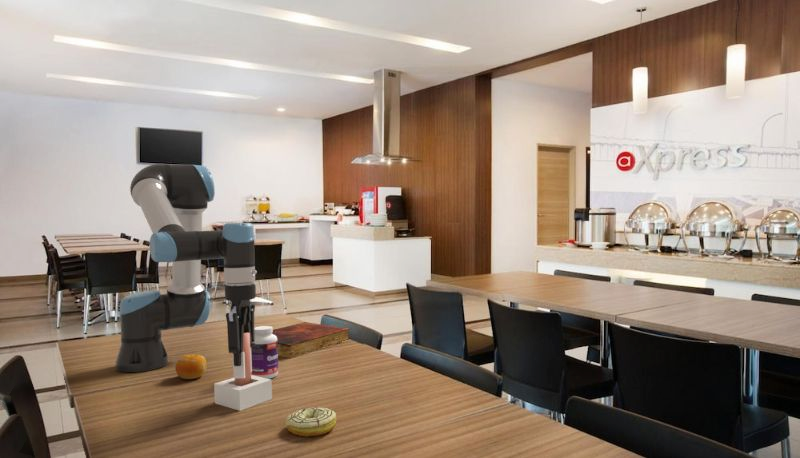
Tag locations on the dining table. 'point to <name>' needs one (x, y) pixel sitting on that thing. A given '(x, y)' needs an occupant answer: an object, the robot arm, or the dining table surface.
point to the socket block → (243, 393)
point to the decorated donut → (311, 421)
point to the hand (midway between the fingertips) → (242, 375)
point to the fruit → (191, 366)
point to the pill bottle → (264, 353)
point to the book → (307, 338)
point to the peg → (247, 362)
